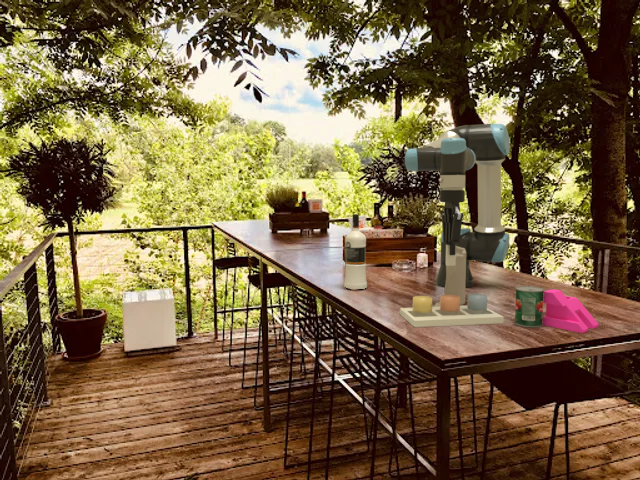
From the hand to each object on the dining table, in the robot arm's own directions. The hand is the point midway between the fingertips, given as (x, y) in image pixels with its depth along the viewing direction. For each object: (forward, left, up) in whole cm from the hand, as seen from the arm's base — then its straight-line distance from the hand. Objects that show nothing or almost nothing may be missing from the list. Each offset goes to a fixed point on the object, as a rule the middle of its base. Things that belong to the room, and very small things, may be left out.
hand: (450, 265), depth 170 cm
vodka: (-51, -20, -17) cm, 58 cm away
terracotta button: (0, 0, -14) cm, 14 cm away
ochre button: (0, -9, -14) cm, 17 cm away
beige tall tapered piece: (-19, +7, -17) cm, 27 cm away
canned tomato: (+10, +21, -17) cm, 29 cm away
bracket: (+13, +33, -17) cm, 39 cm away
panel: (0, 0, -17) cm, 17 cm away
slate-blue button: (0, +9, -14) cm, 17 cm away
